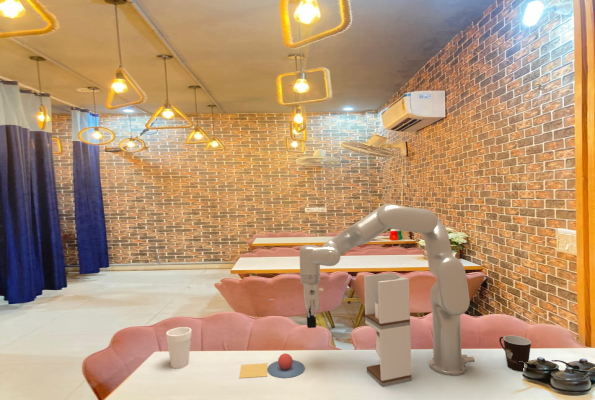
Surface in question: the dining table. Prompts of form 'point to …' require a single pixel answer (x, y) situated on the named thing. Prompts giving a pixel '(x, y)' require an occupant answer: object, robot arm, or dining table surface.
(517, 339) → the coffee mug
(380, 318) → the display case
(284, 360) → the ball
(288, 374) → the disc
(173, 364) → the foam cup
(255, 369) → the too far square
